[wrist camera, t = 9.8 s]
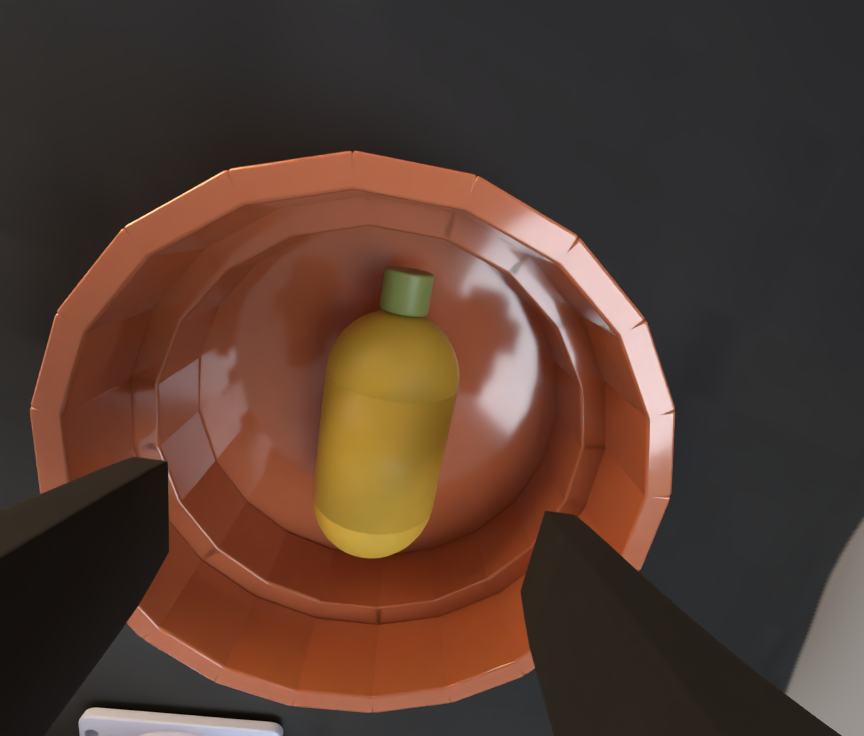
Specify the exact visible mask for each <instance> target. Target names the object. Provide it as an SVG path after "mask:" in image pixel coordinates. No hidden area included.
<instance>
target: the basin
mask: <svg viewBox="0 0 864 736" xmlns="http://www.w3.org/2000/svg"><path fill="white" fill-rule="evenodd" d="M387 266H401V267H408V268H414V269H418V270H423V271H426V272H429V273H431V274H433V275H434V283H433V288H432V294H431V300H430V305H429V311H428V314H427V315H426V316H424V317H426V318H427V319H429V320H430V321H431V322H433V323H434V324H435V325H437V326H438V327H439V328H440V329H441V331H442V332H443V333H444V334H445V335H446V336H447V338H448V339H449V341H450V343H451V345H452V346H453V348H454V351H455V354H456V357H457V360H458V366H459V384H458V391H457V396H456V401H455V406H454V410H453V415H452V420H451V425H450V429H449V434H448V439H447V443H446V448H445V453H444V458H443V462H442V467H441V472H440V476H439V481H438V486H437V491H436V495H435V500H434V505H433V509H432V512H431V515H430V518H429V520H428V522H427V524H426V526H425V527H424V529H423V531H422V532H421V534H420V535H419V536H418V537H417V538H416V539H415V540H414V541H413V542H412V543H411V544H410V545H409V546H407V547H406V548H404V549H403V550H401V551H399V552H397V553H394V554H392V555H389V556H386V557H382V558H371V559H370V558H361V557H357V556H353V555H350V554H348V553H345V552H344V551H342V550H341V549H339V548H338V547H336V546H335V545H334V544H333V543H332V542H331V541H329V540H328V539H327V537H326V536H325V534H324V533H323V531H322V530H321V528H320V526H319V525H318V522H317V519H316V516H315V512H314V509H313V485H314V475H315V466H316V457H317V447H318V438H319V429H320V419H321V410H322V401H323V391H324V382H325V373H326V366H327V361H328V357H329V354H330V352H331V350H332V347H333V345H334V343H335V341H336V340H337V338H338V337H339V335H340V334H341V333H342V331H343V330H344V329H345V328H347V327H348V326H349V325H350V324H351V323H352V322H354V321H355V320H357V319H359V318H360V317H362V316H364V315H366V314H369V313H372V312H375V311H379V310H383V309H381V307H380V299H381V292H382V285H383V278H384V271H385V268H386V267H387ZM31 406H32V407H31V408H30V416H31V424H32V432H33V440H34V448H35V456H36V464H37V472H38V480H39V488H40V494H42V493H44V492H47V491H49V490H51V489H54V488H56V487H58V486H61V485H63V484H66V483H68V482H70V481H73V480H75V479H77V478H80V477H82V476H85V475H87V474H89V473H92V472H94V471H97V470H99V469H102V468H104V467H107V466H109V465H112V464H114V463H117V462H120V461H123V460H126V459H128V458H131V457H139V458H147V459H155V460H162V461H168V494H169V553H168V555H167V556H166V558H165V560H164V562H163V564H162V566H161V567H160V569H159V571H158V573H157V575H156V576H155V578H154V580H153V582H152V584H151V585H150V587H149V589H148V590H147V592H146V594H145V595H144V597H143V599H142V601H141V602H140V604H139V606H138V607H137V609H136V610H135V611H134V613H133V614H132V616H131V617H130V618H129V620H128V621H127V624H128V625H129V627H130V628H131V629H132V630H133V631H134V632H135V633H136V634H137V635H138V636H139V637H143V639H144V640H145V641H147V642H148V643H150V644H152V645H153V646H155V647H157V648H158V649H160V650H162V651H164V652H165V653H167V654H169V655H170V656H172V657H174V658H175V659H177V660H179V661H180V662H182V663H184V664H185V665H187V666H189V667H190V668H192V669H194V670H195V671H197V672H199V673H200V674H202V675H204V676H205V677H207V678H209V679H210V680H214V682H215V683H218V684H222V685H225V686H228V687H231V688H234V689H237V690H241V691H244V692H247V693H250V694H253V695H257V696H260V697H263V698H266V699H269V700H272V701H276V702H279V703H282V704H285V705H288V706H292V705H293V706H296V707H308V708H319V709H331V710H342V711H354V712H366V713H371V712H372V711H373V712H374V713H377V712H385V711H392V710H400V709H408V708H415V707H423V706H430V705H438V704H446V703H450V701H451V702H456V701H458V700H461V699H464V698H467V697H469V696H472V695H475V694H477V693H480V692H483V691H485V690H488V689H491V688H493V687H496V686H499V685H502V684H504V683H507V682H510V681H512V680H515V679H518V678H520V677H523V676H524V674H528V673H529V672H531V671H532V670H534V669H535V666H534V662H533V658H532V655H531V651H530V647H529V642H528V637H527V631H526V625H525V620H524V613H523V606H522V599H521V593H520V591H521V587H522V584H523V581H524V578H525V574H526V571H527V568H528V564H529V561H530V558H531V555H532V551H533V548H534V545H535V542H536V538H537V535H538V532H539V529H540V525H541V522H542V519H543V516H544V512H545V511H552V512H559V513H567V514H574V515H576V516H577V517H578V518H580V519H581V520H582V521H583V522H584V523H586V524H587V525H588V526H589V527H590V528H591V529H592V530H594V531H595V532H596V533H597V534H598V535H599V536H600V537H601V538H602V539H604V540H605V541H606V542H607V543H608V544H609V545H610V546H611V547H612V548H613V549H614V550H616V551H617V552H618V553H619V554H620V555H621V556H622V557H623V558H624V559H625V560H626V561H627V562H629V563H630V564H631V565H632V566H633V567H634V568H635V569H636V570H637V571H638V570H640V569H641V568H642V565H643V563H644V561H645V558H646V556H647V553H648V551H649V548H650V546H651V544H652V541H653V539H654V536H655V534H656V532H657V529H658V527H659V524H660V522H661V520H662V517H663V515H664V512H665V510H666V507H667V505H668V503H669V500H670V495H671V487H672V467H673V447H674V427H675V411H674V410H675V406H674V403H673V400H672V397H671V394H670V391H669V388H668V385H667V382H666V379H665V376H664V373H663V369H662V366H661V363H660V360H659V357H658V354H657V351H656V348H655V345H654V342H653V339H652V336H651V332H650V329H649V326H648V323H647V321H646V320H644V316H643V315H642V313H641V312H640V311H639V310H638V309H637V307H636V306H635V305H634V304H633V302H632V301H631V300H630V299H629V297H628V296H627V295H626V294H625V292H624V291H623V290H622V289H621V287H620V286H619V285H618V284H617V282H616V281H615V280H614V279H613V278H612V276H611V275H610V274H609V273H608V271H607V270H606V269H605V268H604V266H603V265H602V264H601V263H600V261H599V260H598V259H597V258H596V256H595V255H594V254H593V253H592V251H591V250H590V249H589V248H588V247H587V245H586V244H585V243H584V242H583V240H582V239H581V238H578V236H577V234H575V233H574V232H572V231H570V230H569V229H567V228H565V227H564V226H562V225H560V224H559V223H557V222H555V221H554V220H552V219H550V218H549V217H547V216H545V215H544V214H542V213H540V212H539V211H537V210H535V209H534V208H532V207H530V206H529V205H527V204H525V203H524V202H522V201H520V200H519V199H517V198H515V197H514V196H512V195H510V194H509V193H507V192H505V191H504V190H502V189H500V188H499V187H497V186H495V185H494V184H492V183H490V182H489V181H487V180H485V179H484V178H482V177H480V176H477V177H476V175H474V174H471V173H466V172H461V171H456V170H451V169H446V168H441V167H436V166H431V165H426V164H421V163H416V162H411V161H406V160H401V159H396V158H391V157H386V156H381V155H376V154H371V153H366V152H361V151H354V152H352V151H342V152H336V153H329V154H322V155H315V156H309V157H302V158H295V159H288V160H282V161H275V162H268V163H261V164H255V165H248V166H241V167H235V168H231V169H230V170H224V171H222V172H220V173H218V174H217V175H215V176H213V177H211V178H210V179H208V180H206V181H204V182H202V183H201V184H199V185H197V186H195V187H193V188H192V189H190V190H188V191H186V192H185V193H183V194H181V195H179V196H177V197H176V198H174V199H172V200H170V201H169V202H167V203H165V204H163V205H161V206H160V207H158V208H156V209H154V210H152V211H151V212H149V213H147V214H145V215H144V216H142V217H140V218H138V219H136V220H135V221H133V222H131V223H129V224H127V225H126V226H125V227H124V229H121V231H120V232H119V233H118V234H117V236H116V237H115V238H114V239H113V241H112V242H111V243H110V244H109V246H108V247H107V248H106V249H105V251H104V252H103V253H102V255H101V256H100V257H99V258H98V260H97V261H96V262H95V263H94V265H93V266H92V267H91V268H90V270H89V271H88V272H87V273H86V275H85V276H84V277H83V278H82V280H81V281H80V282H79V284H78V285H77V286H76V287H75V289H74V290H73V291H72V292H71V294H70V295H69V296H68V297H67V299H66V300H65V301H64V302H63V304H62V305H61V306H60V307H59V309H58V310H57V314H56V315H55V317H54V321H53V325H52V328H51V332H50V336H49V339H48V343H47V347H46V350H45V354H44V358H43V361H42V365H41V369H40V373H39V376H38V380H37V384H36V387H35V391H34V395H33V398H32V402H31ZM638 572H639V571H638Z"/></svg>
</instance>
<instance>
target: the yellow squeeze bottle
mask: <svg viewBox="0 0 864 736" xmlns="http://www.w3.org/2000/svg"><path fill="white" fill-rule="evenodd" d="M433 283H434V275H433V274H431V273H429V272H426V271H423V270H418V269H414V268H408V267H401V266H387V267H386V268H385V271H384V278H383V285H382V292H381V299H380V307H381V309H383V310H379V311H375V312H372V313H369V314H366V315H364V316H362V317H360V318H359V319H357V320H355V321H354V322H352V323H351V324H350V325H349V326H348V327H347V328H345V329H344V330H343V331H342V333H341V334H340V335H339V337H338V338H337V340H336V341H335V343H334V345H333V347H332V350H331V352H330V354H329V357H328V361H327V366H326V373H325V382H324V391H323V401H322V410H321V419H320V429H319V438H318V447H317V457H316V466H315V475H314V485H313V509H314V512H315V516H316V519H317V522H318V525H319V526H320V528H321V530H322V531H323V533H324V534H325V536H326V537H327V539H328V540H329V541H331V542H332V543H333V544H334V545H335V546H336V547H338V548H339V549H341V550H342V551H344V552H345V553H348V554H350V555H353V556H357V557H361V558H370V559H371V558H382V557H386V556H389V555H392V554H394V553H397V552H399V551H401V550H403V549H404V548H406V547H407V546H409V545H410V544H411V543H412V542H413V541H414V540H415V539H416V538H417V537H418V536H419V535H420V534H421V532H422V531H423V529H424V527H425V526H426V524H427V522H428V520H429V518H430V515H431V512H432V509H433V505H434V500H435V495H436V491H437V486H438V481H439V476H440V472H441V467H442V462H443V458H444V453H445V448H446V443H447V439H448V434H449V429H450V425H451V420H452V415H453V410H454V406H455V401H456V396H457V391H458V384H459V366H458V360H457V357H456V354H455V351H454V348H453V346H452V345H451V343H450V341H449V339H448V338H447V336H446V335H445V334H444V333H443V332H442V331H441V329H440V328H439V327H438V326H437V325H435V324H434V323H433V322H431V321H430V320H429V319H427V318H426V317H424V316H426V315H427V314H428V311H429V305H430V300H431V294H432V288H433Z"/></svg>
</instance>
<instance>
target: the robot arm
mask: <svg viewBox="0 0 864 736" xmlns="http://www.w3.org/2000/svg"><path fill="white" fill-rule="evenodd" d="M168 553H169V494H168V461H162V460H155V459H147V458H139V457H131V458H128V459H126V460H123V461H120V462H117V463H114V464H112V465H109V466H107V467H104V468H102V469H99V470H97V471H94V472H92V473H89V474H87V475H85V476H82V477H80V478H77V479H75V480H73V481H70V482H68V483H66V484H63V485H61V486H58V487H56V488H54V489H51V490H49V491H47V492H44V493H42V494H39V495H37V496H35V497H32V498H30V499H27V500H25V501H23V502H20V503H18V504H15V505H13V506H11V507H8V508H6V509H3V510H1V511H0V736H44V735H45V733H46V732H47V731H48V729H49V728H50V727H51V725H52V724H53V722H54V721H55V720H56V718H57V717H58V716H59V714H60V713H61V712H62V710H63V709H64V707H65V706H66V705H67V703H68V702H69V701H70V699H71V698H72V697H73V695H74V694H75V693H76V691H77V690H78V688H79V687H80V686H81V684H82V683H83V682H84V680H85V679H86V678H87V676H88V675H89V673H90V672H91V671H92V669H93V668H94V667H95V665H96V664H97V663H98V661H99V660H100V658H101V657H102V656H103V654H104V653H105V652H106V650H107V649H108V648H109V646H110V645H111V643H112V642H113V641H114V639H115V638H116V636H117V635H118V634H119V632H120V631H121V630H122V628H123V627H124V625H125V624H126V623H127V621H128V620H129V618H130V617H131V616H132V614H133V613H134V611H135V610H136V609H137V607H138V606H139V604H140V602H141V601H142V599H143V597H144V595H145V594H146V592H147V590H148V589H149V587H150V585H151V584H152V582H153V580H154V578H155V576H156V575H157V573H158V571H159V569H160V567H161V566H162V564H163V562H164V560H165V558H166V556H167V555H168ZM520 593H521V599H522V606H523V613H524V620H525V625H526V631H527V637H528V642H529V647H530V651H531V655H532V658H533V662H534V666H535V669H536V673H537V676H538V680H539V684H540V687H541V691H542V694H543V698H544V701H545V705H546V708H547V712H548V715H549V719H550V722H551V726H552V729H553V733H554V736H841V735H840V734H838V733H837V732H836V731H834V730H833V729H831V728H830V727H829V726H827V725H826V724H824V723H823V722H822V721H820V720H819V719H818V718H816V717H815V716H814V715H812V714H811V713H810V712H808V711H807V710H805V709H804V708H803V707H802V706H800V705H799V704H798V703H796V702H795V701H794V700H792V699H791V698H790V697H788V696H787V695H786V694H784V693H783V692H782V691H780V690H779V689H778V688H776V687H775V686H774V685H772V684H771V683H770V682H768V681H767V680H766V679H764V678H763V677H762V676H761V675H759V674H758V673H757V672H755V671H754V670H753V669H752V668H750V667H749V666H748V665H747V664H745V663H744V662H743V661H742V660H740V659H739V658H738V657H737V656H735V655H734V654H733V653H732V652H731V651H729V650H728V649H727V648H726V647H725V646H723V645H722V644H721V643H720V642H719V641H717V640H716V639H715V638H714V637H713V636H711V635H710V634H709V633H708V632H707V631H705V630H704V629H703V628H702V627H701V626H699V625H698V624H697V623H696V622H695V621H693V620H692V619H691V618H690V617H689V616H688V615H687V614H685V613H684V612H683V611H682V610H681V609H680V608H678V607H677V606H676V605H675V604H674V603H673V602H672V601H671V600H669V599H668V598H667V597H666V596H665V595H664V594H663V593H662V592H660V591H659V590H658V589H657V588H656V587H655V586H654V585H653V584H652V583H650V582H649V581H648V580H647V579H646V578H645V577H644V576H643V575H642V574H641V573H639V572H638V571H637V570H636V569H635V568H634V567H633V566H632V565H631V564H630V563H629V562H627V561H626V560H625V559H624V558H623V557H622V556H621V555H620V554H619V553H618V552H617V551H616V550H614V549H613V548H612V547H611V546H610V545H609V544H608V543H607V542H606V541H605V540H604V539H602V538H601V537H600V536H599V535H598V534H597V533H596V532H595V531H594V530H592V529H591V528H590V527H589V526H588V525H587V524H586V523H584V522H583V521H582V520H581V519H580V518H578V517H577V516H576V515H574V514H567V513H559V512H552V511H545V512H544V516H543V519H542V522H541V525H540V529H539V532H538V535H537V538H536V542H535V545H534V548H533V551H532V555H531V558H530V561H529V564H528V568H527V571H526V574H525V578H524V581H523V584H522V587H521V591H520ZM78 724H79V733H80V736H283V728H282V727H281V726H280V725H279V724H278V723H275V722H267V721H255V720H243V719H231V718H219V717H206V716H194V715H182V714H170V713H158V712H146V711H134V710H122V709H110V708H98V707H95V708H90V709H87V710H86V711H85V712H84V714H83V715H82V716H81V718H80V719H79V723H78Z"/></svg>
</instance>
